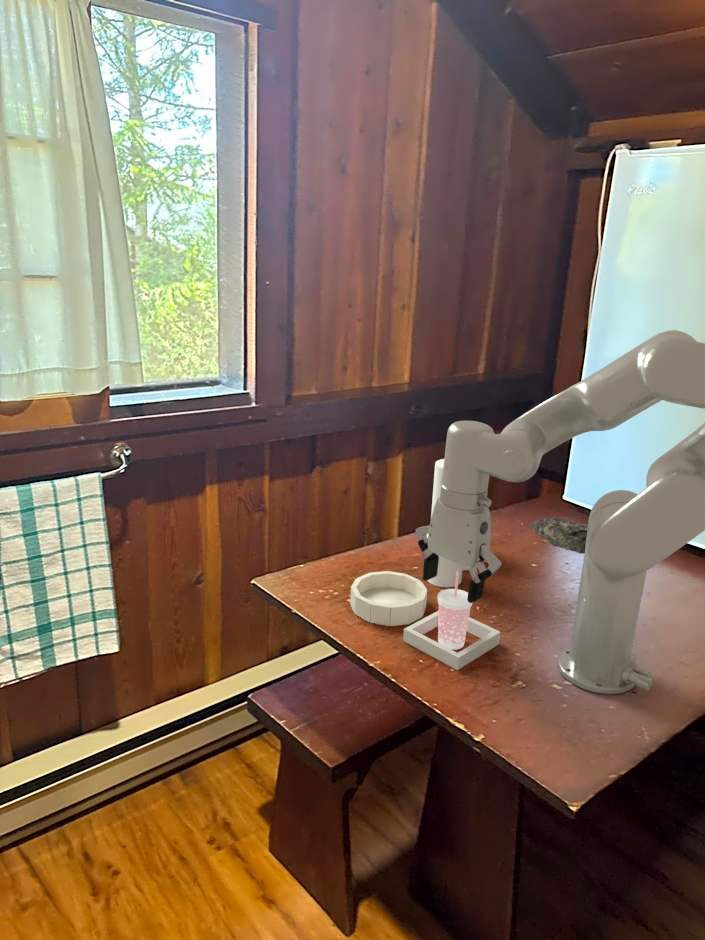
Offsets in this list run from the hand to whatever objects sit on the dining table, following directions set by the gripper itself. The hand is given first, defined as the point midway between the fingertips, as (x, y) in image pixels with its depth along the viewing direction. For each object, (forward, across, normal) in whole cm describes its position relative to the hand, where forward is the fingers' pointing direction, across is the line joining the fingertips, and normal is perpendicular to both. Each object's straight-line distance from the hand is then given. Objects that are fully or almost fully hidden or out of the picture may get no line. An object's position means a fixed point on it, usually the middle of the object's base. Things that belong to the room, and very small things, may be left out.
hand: (451, 588), depth 129 cm
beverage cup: (+11, -1, 0) cm, 11 cm away
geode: (+11, +9, -58) cm, 59 cm away
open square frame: (+10, -1, 0) cm, 10 cm away
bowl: (+11, +15, -2) cm, 19 cm away
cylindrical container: (+11, +15, -18) cm, 26 cm away
